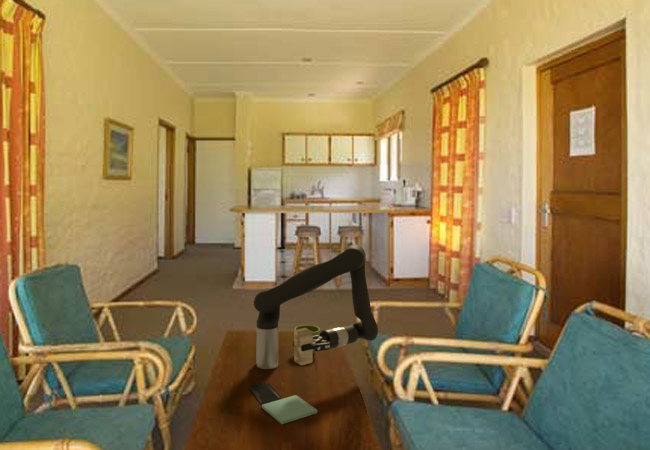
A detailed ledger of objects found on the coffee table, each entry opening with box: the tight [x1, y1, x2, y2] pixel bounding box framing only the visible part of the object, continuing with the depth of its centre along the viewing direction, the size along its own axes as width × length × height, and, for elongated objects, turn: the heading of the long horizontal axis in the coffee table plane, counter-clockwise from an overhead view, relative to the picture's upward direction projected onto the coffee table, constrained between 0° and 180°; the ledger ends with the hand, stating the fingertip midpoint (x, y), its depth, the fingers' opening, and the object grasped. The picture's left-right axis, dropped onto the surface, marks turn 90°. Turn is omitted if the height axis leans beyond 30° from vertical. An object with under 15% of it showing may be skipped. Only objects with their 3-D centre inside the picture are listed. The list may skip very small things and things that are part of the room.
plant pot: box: [294, 324, 321, 354], centre depth 219 cm, size 12×12×11 cm
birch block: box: [293, 328, 314, 366], centre depth 178 cm, size 5×5×12 cm
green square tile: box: [261, 394, 318, 425], centre depth 163 cm, size 14×14×1 cm
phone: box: [249, 382, 282, 405], centre depth 176 cm, size 8×1×15 cm
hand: (297, 346), depth 176 cm, fingers closed on birch block, 5 cm apart
